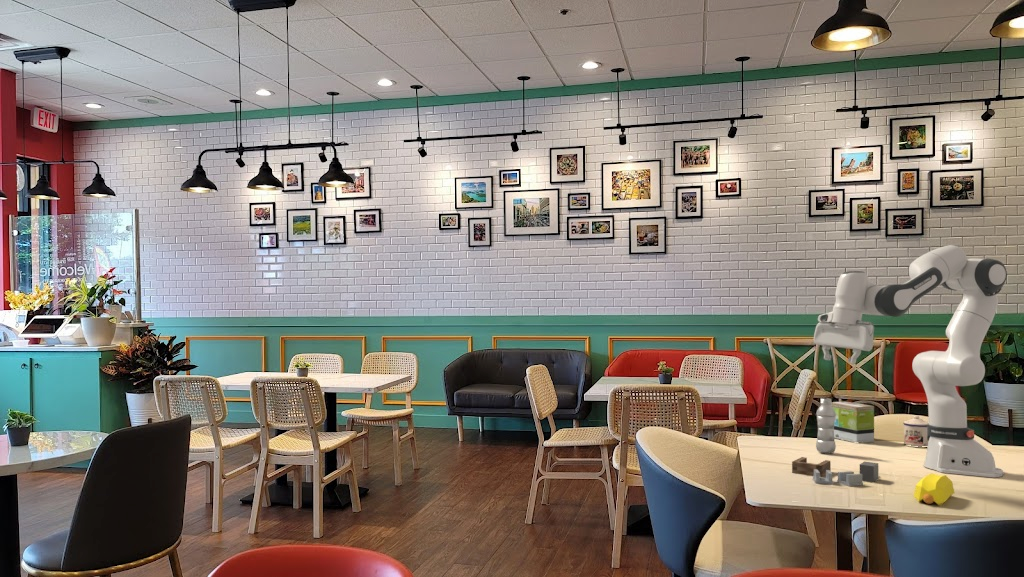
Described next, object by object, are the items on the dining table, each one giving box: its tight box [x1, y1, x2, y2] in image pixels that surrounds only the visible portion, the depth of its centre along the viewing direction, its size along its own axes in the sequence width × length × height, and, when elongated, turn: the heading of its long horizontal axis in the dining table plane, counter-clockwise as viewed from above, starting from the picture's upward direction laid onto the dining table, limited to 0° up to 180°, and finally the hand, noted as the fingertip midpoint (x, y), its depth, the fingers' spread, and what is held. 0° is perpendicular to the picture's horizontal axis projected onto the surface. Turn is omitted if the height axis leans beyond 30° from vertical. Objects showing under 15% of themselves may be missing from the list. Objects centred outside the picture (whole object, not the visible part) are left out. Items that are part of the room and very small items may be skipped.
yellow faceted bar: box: [913, 473, 955, 506], centre depth 203 cm, size 18×7×8 cm
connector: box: [859, 461, 879, 483], centre depth 228 cm, size 4×10×5 cm, turn 141°
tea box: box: [831, 401, 875, 443], centre depth 299 cm, size 15×10×15 cm, turn 23°
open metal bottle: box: [815, 397, 837, 455], centre depth 269 cm, size 6×7×20 cm
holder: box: [791, 456, 832, 478], centre depth 236 cm, size 9×10×4 cm
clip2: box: [812, 469, 834, 485], centre depth 223 cm, size 5×5×3 cm
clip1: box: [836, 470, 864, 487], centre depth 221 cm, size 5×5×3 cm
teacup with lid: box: [903, 415, 929, 447], centre depth 285 cm, size 12×9×12 cm
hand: (839, 361), depth 235 cm, fingers open, 8 cm apart
